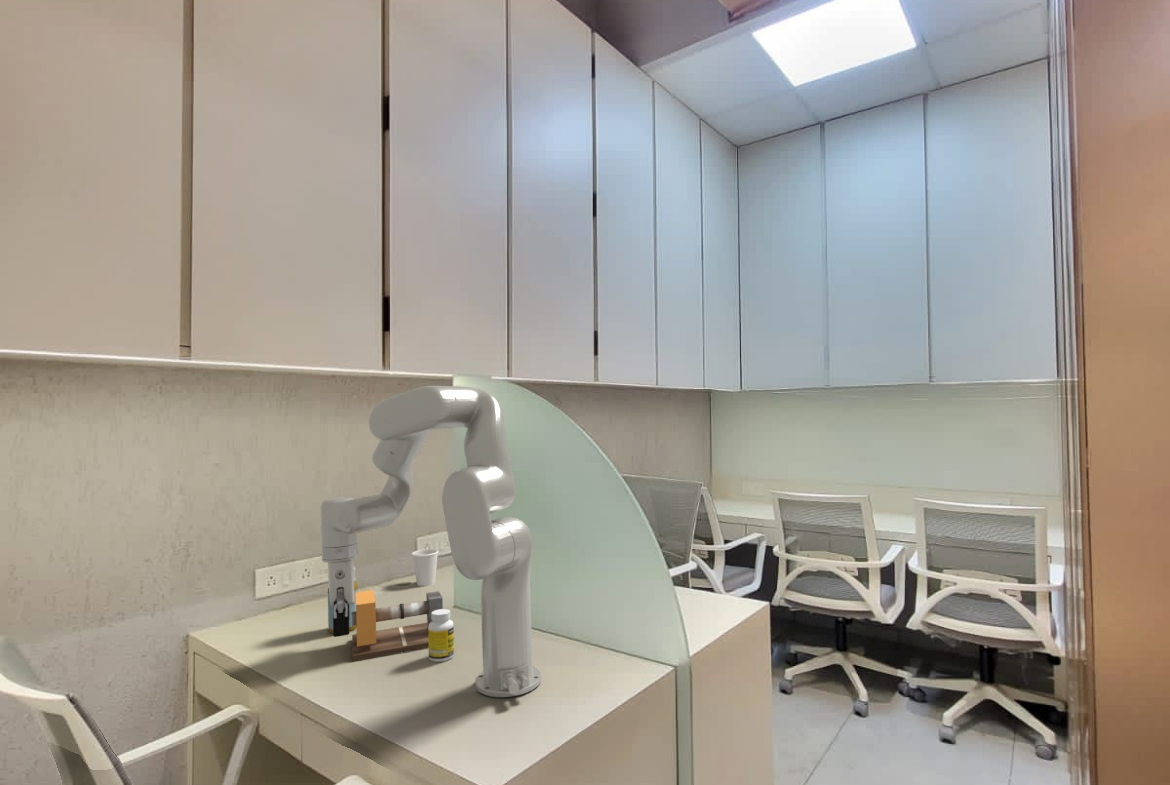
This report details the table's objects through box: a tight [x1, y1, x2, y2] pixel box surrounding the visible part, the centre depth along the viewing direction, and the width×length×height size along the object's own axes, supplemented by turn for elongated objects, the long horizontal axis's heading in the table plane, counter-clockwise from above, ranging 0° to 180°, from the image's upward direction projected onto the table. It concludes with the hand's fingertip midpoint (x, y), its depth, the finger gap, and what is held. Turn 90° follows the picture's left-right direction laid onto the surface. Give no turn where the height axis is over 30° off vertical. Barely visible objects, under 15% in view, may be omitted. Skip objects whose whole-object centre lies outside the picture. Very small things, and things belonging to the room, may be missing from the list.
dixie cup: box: [411, 548, 439, 587], centre depth 187 cm, size 8×8×10 cm
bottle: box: [327, 566, 359, 634], centre depth 148 cm, size 7×7×15 cm
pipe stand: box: [351, 590, 444, 662], centre depth 137 cm, size 14×20×10 cm
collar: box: [356, 589, 377, 647], centre depth 135 cm, size 11×4×9 cm, turn 22°
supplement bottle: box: [428, 608, 455, 663], centre depth 127 cm, size 5×5×10 cm
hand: (341, 628), depth 133 cm, fingers open, 9 cm apart
